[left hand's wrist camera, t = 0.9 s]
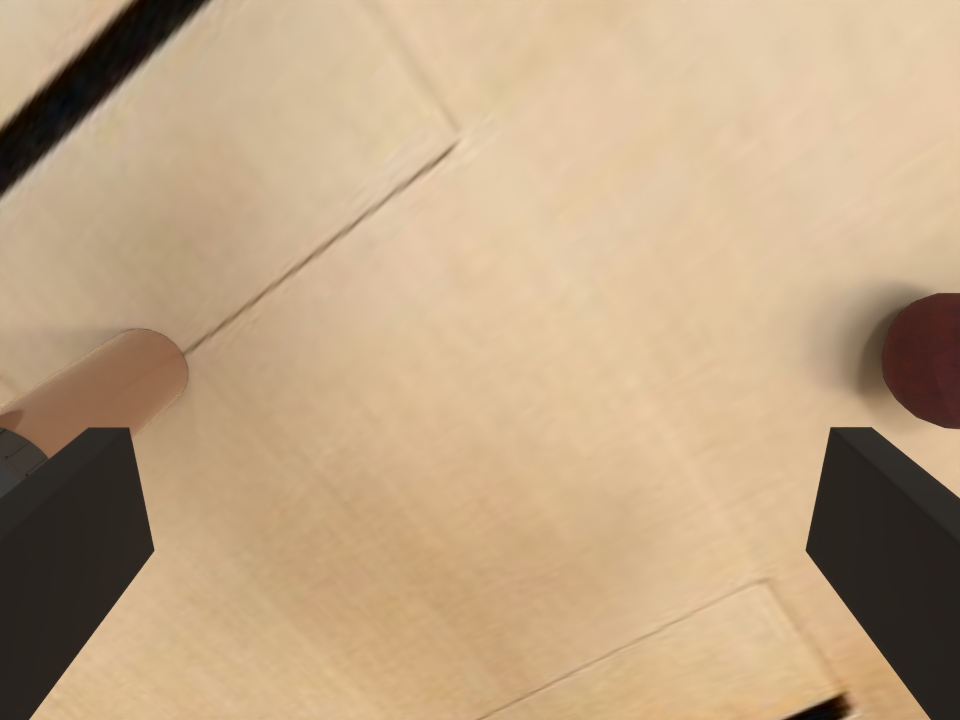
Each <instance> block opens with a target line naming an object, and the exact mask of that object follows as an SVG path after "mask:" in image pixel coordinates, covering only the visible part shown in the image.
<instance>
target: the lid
mask: <svg viewBox="0 0 960 720" xmlns="http://www.w3.org/2000/svg"><path fill="white" fill-rule="evenodd" d="M48 459H49V458H48V457H47V455H46V454H45V453H44V452H43V451H42V450H41V449H40V448H38V447H37V446H36V445H35V444H33V443H32V442H31V441H29V440H28V439H26V438H25V437H23V436H21V435H19V434H17V433H15V432H13V431H11V430H8V429H6V428H2V427H0V498H1V497H3V496H4V495H5V494H6V493H8V492H9V491H10V490H11V489H13V488H14V487H15V486H16V485H17V484H19V483H20V482H21V481H22V480H24V479H25V478H26V477H27V476H29V475H30V474H31V473H32V472H34V471H35V470H36V469H37V468H39V467H40V466H41V465H42V464H44V463H45V462H46V461H47V460H48Z"/></svg>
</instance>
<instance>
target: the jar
mask: <svg viewBox="0 0 960 720" xmlns="http://www.w3.org/2000/svg"><path fill="white" fill-rule="evenodd" d="M187 380H188V368H187V363H186V361H185V358H184V356H183V354H182V353H181V351H180V350H179V348H178V347H177V346H176V345H175V344H174V343H173V342H172V341H171V340H169V339H168V338H167V337H165V336H163V335H161V334H159V333H157V332H154V331H151V330H146V329H133V330H128V331H125V332H122V333H120V334H119V335H117V336H115V337H114V338H112V339H110V340H109V341H107V342H106V343H104V344H102V345H101V346H99V347H97V348H96V349H94V350H93V351H91V352H89V353H88V354H86V355H85V356H83V357H81V358H80V359H78V360H76V361H75V362H73V363H72V364H70V365H68V366H67V367H65V368H63V369H62V370H60V371H59V372H57V373H55V374H54V375H52V376H50V377H49V378H47V379H46V380H44V381H42V382H41V383H39V384H37V385H36V386H34V387H33V388H31V389H29V390H28V391H26V392H24V393H23V394H21V395H20V396H18V397H16V398H15V399H13V400H12V401H10V402H8V403H7V404H5V405H3V406H2V407H0V427H2V428H6V429H8V430H11V431H13V432H15V433H17V434H19V435H21V436H23V437H25V438H26V439H28V440H29V441H31V442H32V443H33V444H35V445H36V446H37V447H38V448H40V449H41V450H42V451H43V452H44V453H45V454H46V455H47V457H48V458H49V459H50V458H51V457H52V456H53V455H55V454H56V453H57V452H58V451H60V450H61V449H62V448H63V447H65V446H66V445H67V444H68V443H70V442H71V441H72V440H73V439H75V438H76V437H77V436H78V435H80V434H81V433H82V432H83V431H84V430H86V429H87V428H88V427H129V428H130V433H131V438H132V440H133V439H134V438H135V437H136V436H137V435H138V434H140V433H141V432H142V431H143V430H144V429H145V428H146V427H147V426H148V425H149V424H150V423H151V422H152V421H153V420H154V419H155V418H156V417H158V416H159V415H160V414H161V413H162V412H163V411H164V410H165V409H166V408H167V407H168V406H169V405H170V404H171V403H172V402H173V401H174V400H176V399H177V398H178V397H179V396H180V395H181V393H182V392H183V390H184V389H185V387H186V384H187Z"/></svg>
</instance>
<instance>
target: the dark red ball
mask: <svg viewBox="0 0 960 720" xmlns="http://www.w3.org/2000/svg"><path fill="white" fill-rule="evenodd" d="M882 367H883V378H884V380H885V382H886V384H887V386H888V388H889V389H890V391H891V392H892V394H893V395H894V397H895V398H896V400H897V401H898V402H900V403H901V404H902V405H903V406H904V407H905V408H906V409H907V410H908V411H910V412H911V413H912V414H913V415H914V416H916V417H917V418H920V419H922V420H925V421H928V422H930V423H933V424H936V425H938V426H941V427H943V428H951V429H960V293H937V294H934V295H931V296H928V297H926V298H923V299H920V300H917V301H915V302H913V303H911V304H910V305H909V306H908V307H907V308H905V309H904V310H903V311H902V312H900V313H899V314H898V316H897V317H896V319H895V320H894V322H893V323H892V325H891V326H890V328H889V331H888V334H887V338H886V341H885V345H884V348H883V352H882Z"/></svg>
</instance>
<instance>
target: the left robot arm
mask: <svg viewBox="0 0 960 720" xmlns="http://www.w3.org/2000/svg"><path fill="white" fill-rule="evenodd" d="M153 552H154V546H153V541H152V536H151V531H150V526H149V521H148V516H147V512H146V507H145V502H144V497H143V492H142V487H141V482H140V477H139V472H138V467H137V462H136V458H135V453H134V448H133V443H132V438H131V433H130V428H129V427H88V428H87V429H86V430H84V431H83V432H82V433H81V434H80V435H78V436H77V437H76V438H75V439H73V440H72V441H71V442H70V443H68V444H67V445H66V446H65V447H63V448H62V449H61V450H60V451H58V452H57V453H56V454H55V455H53V456H52V457H51V458H50V459H48V460H47V461H46V462H45V463H44V464H42V465H41V466H40V467H39V468H37V469H36V470H35V471H34V472H32V473H31V474H30V475H29V476H27V477H26V478H25V479H24V480H22V481H21V482H20V483H19V484H17V485H16V486H15V487H14V488H13V489H11V490H10V491H9V492H8V493H6V494H5V495H4V496H3V497H1V498H0V720H29V719H30V718H31V716H32V715H33V714H34V712H35V711H36V710H37V708H38V707H39V706H40V704H41V703H42V702H43V700H44V699H45V698H46V696H47V695H48V694H49V692H50V691H51V690H52V688H53V687H54V685H55V684H56V683H57V681H58V680H59V679H60V677H61V676H62V675H63V673H64V672H65V671H66V669H67V668H68V667H69V665H70V664H71V663H72V661H73V660H74V658H75V657H76V656H77V654H78V653H79V652H80V650H81V649H82V648H83V646H84V645H85V644H86V642H87V641H88V640H89V638H90V637H91V636H92V634H93V633H94V632H95V630H96V629H97V627H98V626H99V625H100V623H101V622H102V621H103V619H104V618H105V617H106V615H107V614H108V613H109V611H110V610H111V609H112V607H113V606H114V605H115V603H116V602H117V601H118V599H119V598H120V596H121V595H122V594H123V592H124V591H125V590H126V588H127V587H128V586H129V584H130V583H131V582H132V580H133V579H134V578H135V576H136V575H137V574H138V572H139V571H140V569H141V568H142V567H143V565H144V564H145V563H146V561H147V560H148V559H149V557H150V556H151V555H152V553H153ZM806 552H807V553H808V555H809V556H810V557H811V559H812V560H813V561H814V563H815V564H816V565H817V567H818V568H819V569H820V571H821V572H822V574H823V575H824V576H825V578H826V579H827V580H828V582H829V583H830V584H831V586H832V587H833V588H834V590H835V591H836V592H837V594H838V595H839V596H840V598H841V599H842V601H843V602H844V603H845V605H846V606H847V607H848V609H849V610H850V611H851V613H852V614H853V615H854V617H855V618H856V619H857V621H858V622H859V623H860V625H861V626H862V627H863V629H864V630H865V632H866V633H867V634H868V636H869V637H870V638H871V640H872V641H873V642H874V644H875V645H876V646H877V648H878V649H879V650H880V652H881V653H882V654H883V656H884V657H885V658H886V660H887V661H888V663H889V664H890V665H891V667H892V668H893V669H894V671H895V672H896V673H897V675H898V676H899V677H900V679H901V680H902V681H903V683H904V684H905V685H906V687H907V688H908V690H909V691H910V692H911V694H912V695H913V696H914V698H915V699H916V700H917V702H918V703H919V704H920V706H921V707H922V708H923V710H924V711H925V712H926V714H927V715H928V716H929V718H930V719H931V720H960V498H959V497H957V496H956V495H955V494H954V493H952V492H951V491H950V490H949V489H947V488H946V487H945V486H944V485H943V484H941V483H940V482H939V481H938V480H936V479H935V478H934V477H933V476H931V475H930V474H929V473H928V472H926V471H925V470H924V469H923V468H921V467H920V466H919V465H918V464H916V463H915V462H914V461H913V460H912V459H910V458H909V457H908V456H907V455H905V454H904V453H903V452H902V451H900V450H899V449H898V448H897V447H895V446H894V445H893V444H892V443H890V442H889V441H888V440H887V439H885V438H884V437H883V436H882V435H880V434H879V433H878V432H877V431H876V430H874V429H873V428H872V427H831V428H830V433H829V438H828V443H827V448H826V453H825V458H824V462H823V467H822V472H821V477H820V482H819V487H818V492H817V497H816V502H815V507H814V512H813V516H812V521H811V526H810V531H809V536H808V541H807V546H806Z"/></svg>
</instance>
